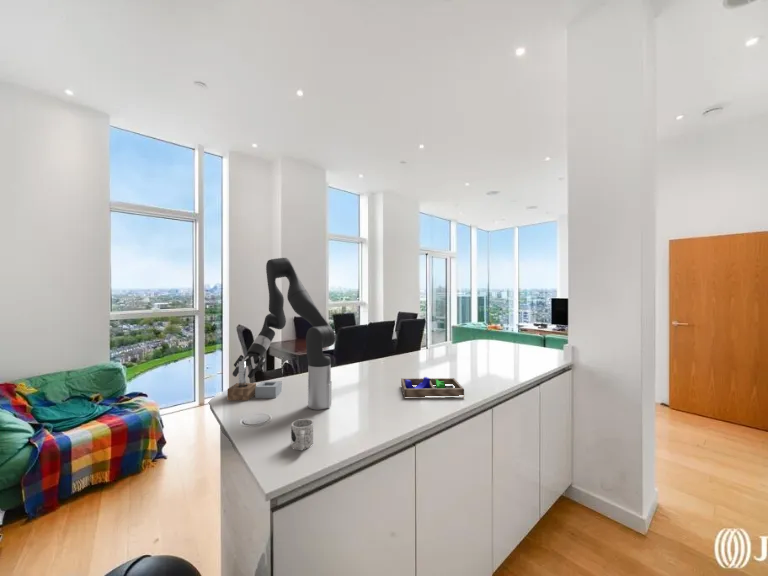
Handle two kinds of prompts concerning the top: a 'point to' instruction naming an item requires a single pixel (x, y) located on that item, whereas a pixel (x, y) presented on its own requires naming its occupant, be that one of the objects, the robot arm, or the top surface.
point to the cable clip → (423, 385)
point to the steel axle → (242, 374)
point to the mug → (301, 434)
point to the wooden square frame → (241, 392)
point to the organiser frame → (432, 388)
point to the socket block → (268, 389)
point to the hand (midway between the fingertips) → (241, 376)
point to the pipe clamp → (439, 384)
